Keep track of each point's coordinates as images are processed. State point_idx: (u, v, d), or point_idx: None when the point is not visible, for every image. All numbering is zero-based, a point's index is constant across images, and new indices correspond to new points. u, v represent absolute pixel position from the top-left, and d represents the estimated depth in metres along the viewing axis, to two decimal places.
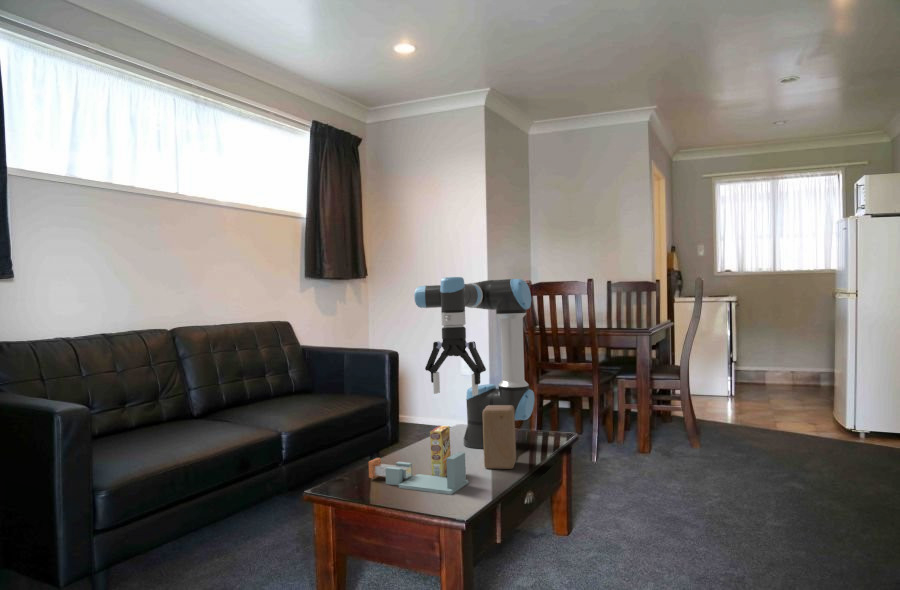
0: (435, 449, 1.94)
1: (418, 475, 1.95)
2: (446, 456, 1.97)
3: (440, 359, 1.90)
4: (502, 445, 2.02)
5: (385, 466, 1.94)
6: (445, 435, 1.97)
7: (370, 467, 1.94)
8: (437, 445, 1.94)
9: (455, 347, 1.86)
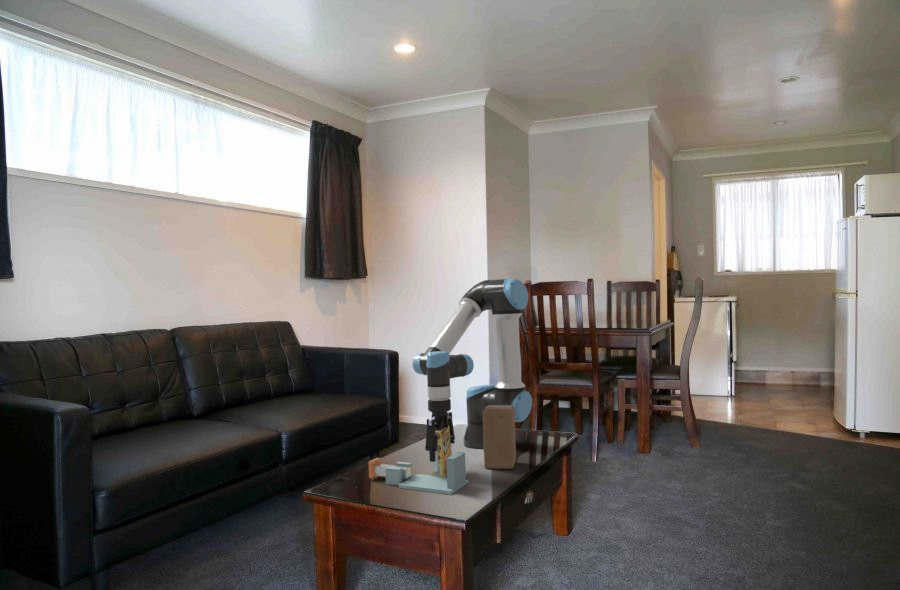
0: None
1: (418, 475, 1.95)
2: (446, 456, 1.97)
3: None
4: (502, 445, 2.02)
5: (385, 466, 1.94)
6: (445, 435, 1.97)
7: (370, 467, 1.94)
8: (437, 445, 1.94)
9: None
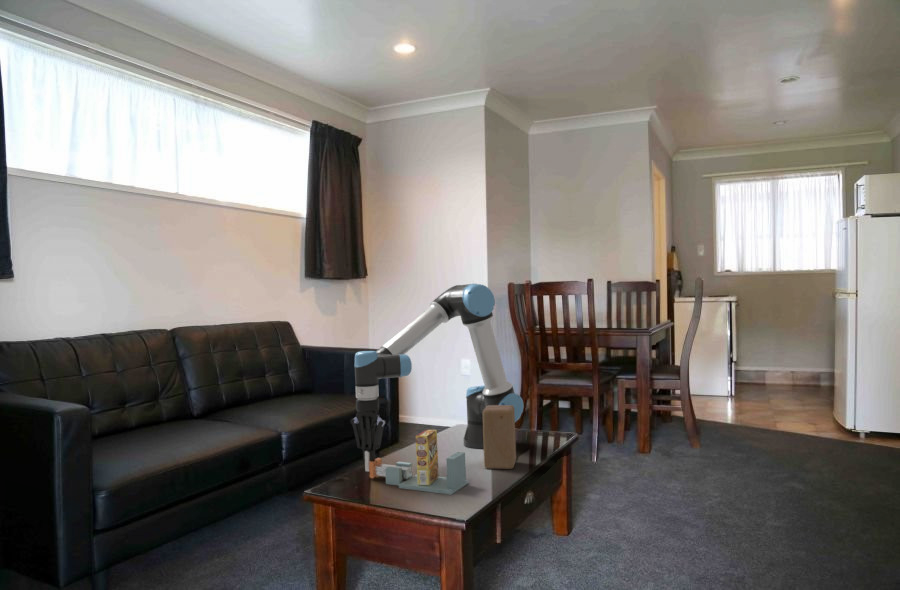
0: (421, 455, 1.84)
1: None
2: (432, 462, 1.86)
3: (363, 433, 1.97)
4: (502, 445, 2.02)
5: (386, 466, 1.94)
6: (431, 439, 1.86)
7: (371, 467, 1.94)
8: (423, 451, 1.84)
9: (367, 419, 1.95)
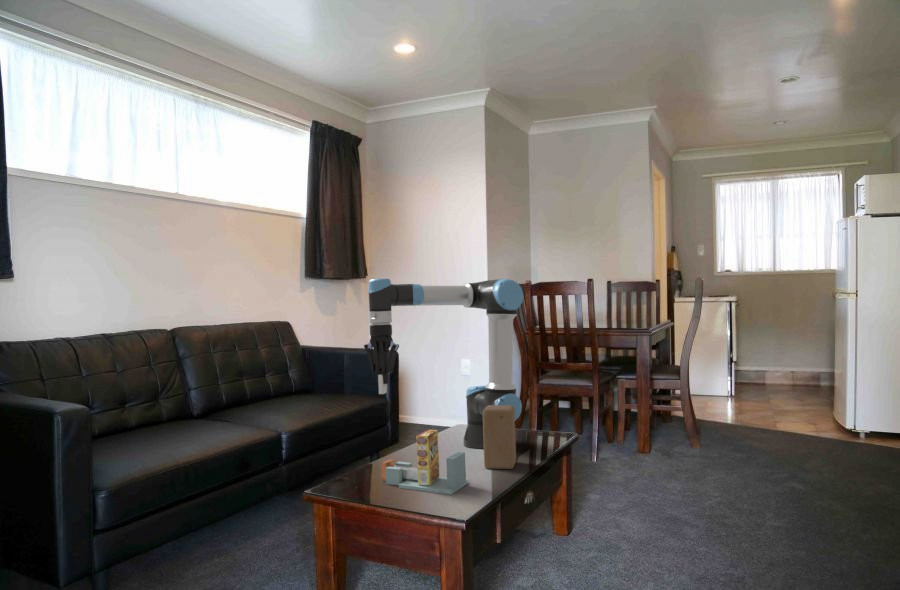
0: (422, 455, 1.84)
1: None
2: (433, 462, 1.86)
3: (377, 358, 2.04)
4: (502, 445, 2.02)
5: (398, 467, 1.92)
6: (432, 439, 1.86)
7: (383, 468, 1.92)
8: (424, 451, 1.83)
9: (381, 343, 2.02)
